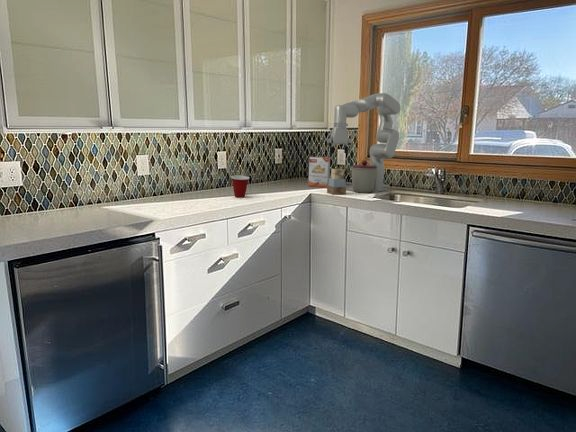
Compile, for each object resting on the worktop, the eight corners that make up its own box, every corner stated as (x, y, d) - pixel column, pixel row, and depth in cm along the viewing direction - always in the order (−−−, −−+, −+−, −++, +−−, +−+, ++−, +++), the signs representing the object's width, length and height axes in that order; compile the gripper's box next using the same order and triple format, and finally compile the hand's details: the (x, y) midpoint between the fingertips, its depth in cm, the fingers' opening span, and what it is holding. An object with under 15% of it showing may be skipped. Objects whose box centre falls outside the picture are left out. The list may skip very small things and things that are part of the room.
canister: (369, 190, 304) (371, 159, 300) (381, 193, 287) (383, 161, 282) (344, 190, 299) (346, 159, 295) (355, 194, 282) (357, 161, 278)
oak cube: (339, 178, 283) (340, 168, 282) (343, 179, 277) (343, 169, 276) (331, 178, 281) (331, 168, 280) (334, 179, 276) (335, 169, 274)
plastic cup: (235, 199, 249) (236, 177, 247) (227, 196, 258) (227, 175, 255) (252, 197, 255) (252, 177, 252) (243, 195, 264) (244, 175, 261)
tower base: (339, 192, 287) (339, 185, 286) (345, 194, 279) (346, 187, 278) (327, 193, 284) (327, 185, 283) (333, 195, 276) (333, 187, 275)
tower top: (340, 185, 286) (340, 177, 285) (345, 187, 278) (345, 179, 277) (328, 185, 283) (329, 177, 282) (333, 187, 276) (334, 179, 275)
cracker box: (308, 186, 313) (309, 156, 309) (310, 185, 319) (311, 156, 315) (327, 187, 309) (328, 157, 305) (329, 186, 315) (330, 157, 311)
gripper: (349, 125, 279) (348, 152, 282) (324, 125, 273) (323, 153, 276) (355, 125, 272) (353, 153, 275) (330, 125, 266) (329, 153, 270)
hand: (338, 153), depth 276 cm, fingers open, 9 cm apart
